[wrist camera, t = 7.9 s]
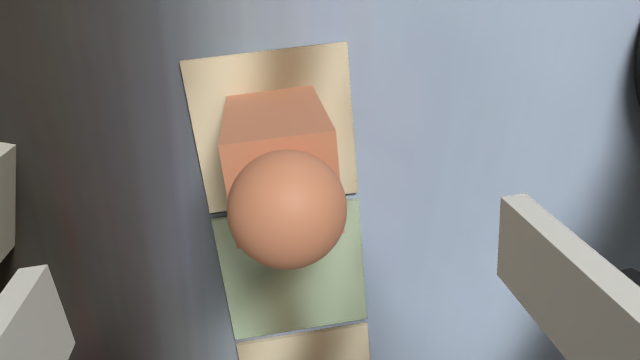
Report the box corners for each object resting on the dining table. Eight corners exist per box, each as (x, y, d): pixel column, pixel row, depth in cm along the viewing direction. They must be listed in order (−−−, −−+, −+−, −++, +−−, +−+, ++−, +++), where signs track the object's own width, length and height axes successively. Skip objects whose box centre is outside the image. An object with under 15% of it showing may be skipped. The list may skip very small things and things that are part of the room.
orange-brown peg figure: (312, 85, 27) (354, 165, 16) (320, 164, 29) (363, 284, 18) (226, 95, 27) (211, 185, 16) (239, 175, 29) (234, 304, 18)
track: (346, 41, 27) (347, 42, 27) (379, 501, 41) (380, 504, 41) (180, 60, 26) (179, 61, 26) (272, 521, 40) (272, 525, 40)
